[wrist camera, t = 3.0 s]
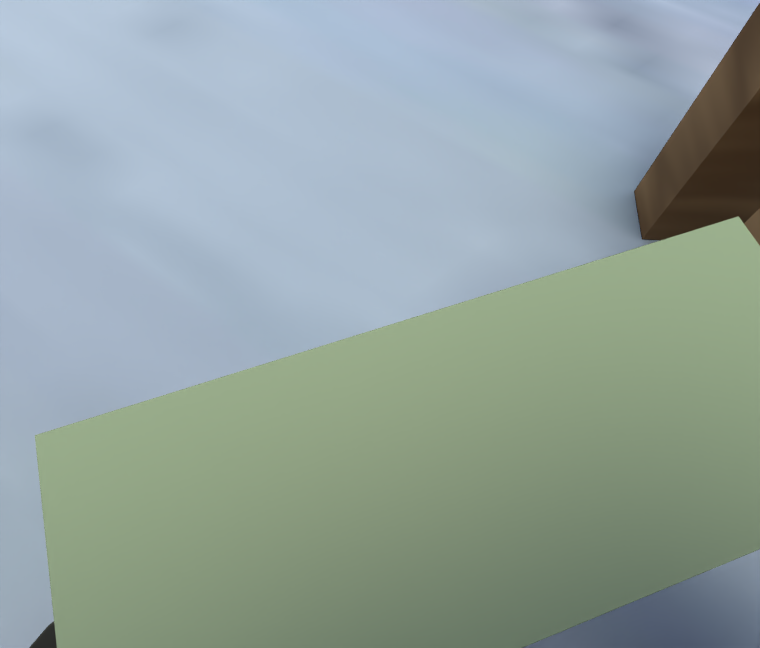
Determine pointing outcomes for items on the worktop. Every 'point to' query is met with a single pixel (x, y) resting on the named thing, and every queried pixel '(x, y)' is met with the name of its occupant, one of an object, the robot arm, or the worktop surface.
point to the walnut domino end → (710, 151)
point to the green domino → (430, 470)
